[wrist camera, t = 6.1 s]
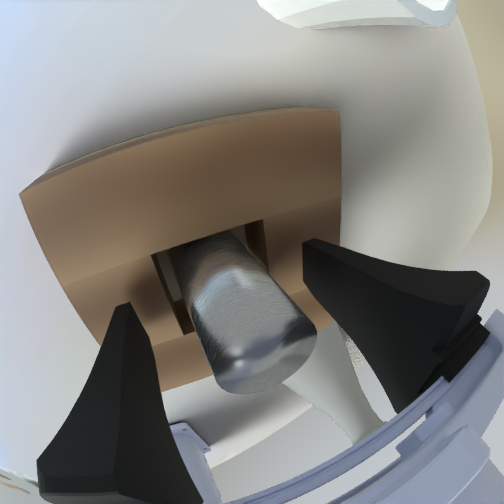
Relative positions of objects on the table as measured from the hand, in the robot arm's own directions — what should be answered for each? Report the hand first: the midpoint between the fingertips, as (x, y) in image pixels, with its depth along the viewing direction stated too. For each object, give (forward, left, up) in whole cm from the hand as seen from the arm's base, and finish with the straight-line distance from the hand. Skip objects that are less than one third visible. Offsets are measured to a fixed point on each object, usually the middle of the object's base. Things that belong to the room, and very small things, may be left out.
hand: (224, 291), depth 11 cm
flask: (-12, -6, -4) cm, 14 cm away
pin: (0, 0, -3) cm, 3 cm away
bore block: (0, 0, -4) cm, 4 cm away
